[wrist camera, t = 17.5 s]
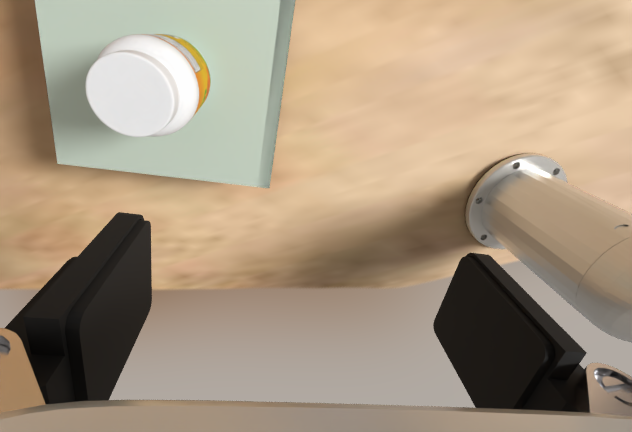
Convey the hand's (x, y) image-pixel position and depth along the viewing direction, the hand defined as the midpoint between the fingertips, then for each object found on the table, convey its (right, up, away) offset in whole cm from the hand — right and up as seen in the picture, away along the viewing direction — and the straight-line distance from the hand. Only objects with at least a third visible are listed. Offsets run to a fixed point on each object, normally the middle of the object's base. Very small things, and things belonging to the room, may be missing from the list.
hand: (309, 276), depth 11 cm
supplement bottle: (-10, +12, +15) cm, 22 cm away
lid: (-11, +14, +18) cm, 25 cm away
